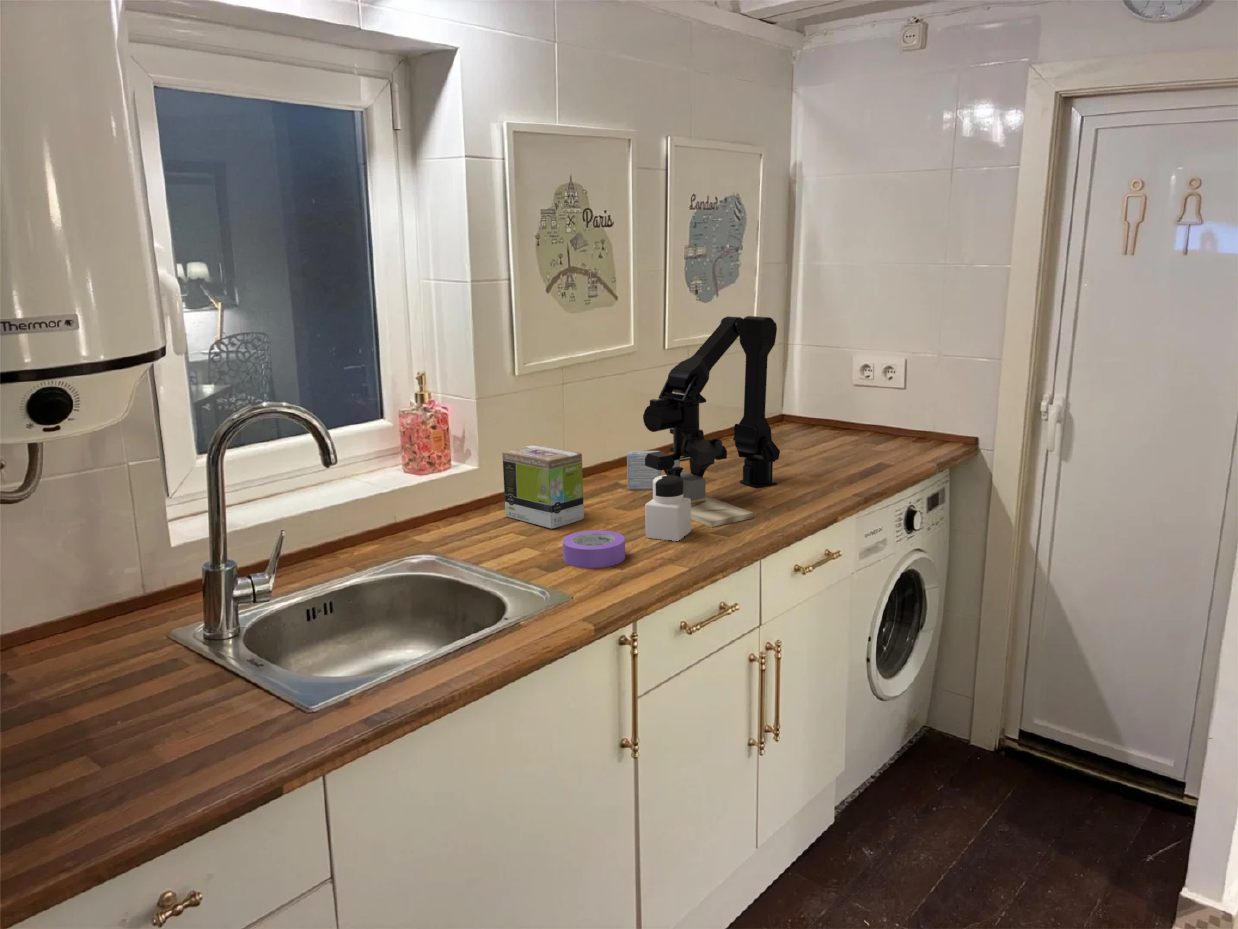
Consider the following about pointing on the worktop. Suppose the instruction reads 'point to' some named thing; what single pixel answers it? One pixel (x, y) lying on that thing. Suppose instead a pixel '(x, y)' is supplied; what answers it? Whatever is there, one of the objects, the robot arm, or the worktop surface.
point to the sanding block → (693, 487)
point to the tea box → (543, 485)
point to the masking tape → (594, 549)
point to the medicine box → (640, 471)
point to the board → (717, 512)
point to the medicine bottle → (668, 510)
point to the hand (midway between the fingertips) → (686, 493)
